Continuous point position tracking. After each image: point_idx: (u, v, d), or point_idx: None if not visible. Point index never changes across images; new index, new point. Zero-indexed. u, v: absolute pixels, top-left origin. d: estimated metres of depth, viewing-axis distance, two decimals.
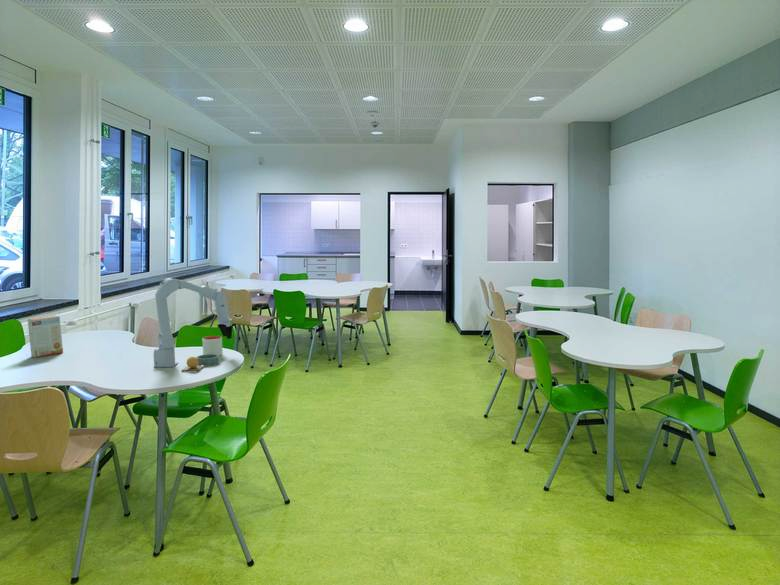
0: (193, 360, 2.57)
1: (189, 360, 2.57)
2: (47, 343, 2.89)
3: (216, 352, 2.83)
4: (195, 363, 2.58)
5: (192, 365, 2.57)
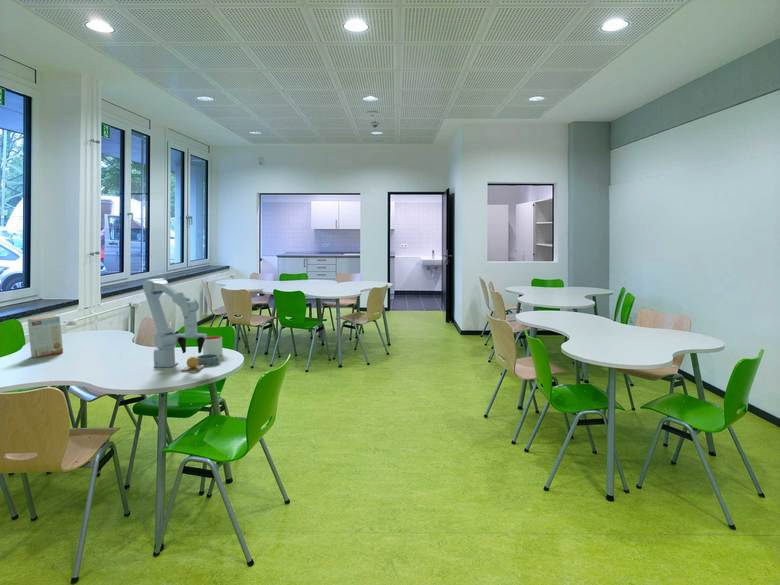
0: (193, 360, 2.57)
1: (189, 360, 2.57)
2: (47, 343, 2.89)
3: (216, 352, 2.83)
4: (195, 363, 2.58)
5: (192, 365, 2.57)
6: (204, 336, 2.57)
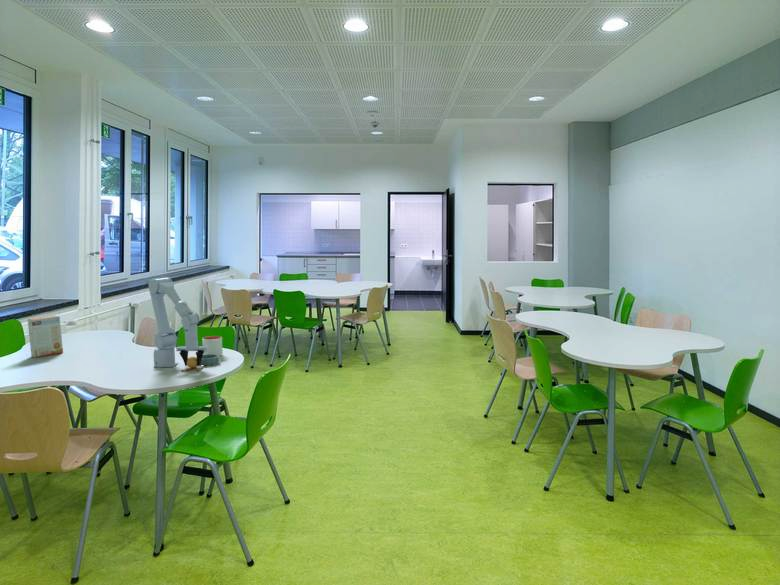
0: (193, 360, 2.57)
1: (189, 360, 2.57)
2: (47, 343, 2.89)
3: (216, 352, 2.83)
4: (195, 363, 2.58)
5: (192, 365, 2.57)
6: (205, 349, 2.57)
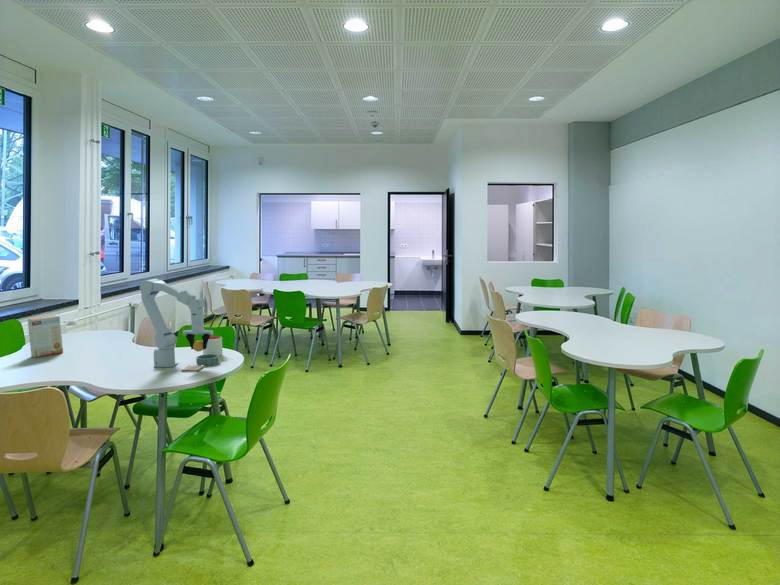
0: (199, 344, 2.61)
1: (195, 343, 2.61)
2: (47, 343, 2.89)
3: (216, 352, 2.83)
4: (201, 346, 2.62)
5: (198, 348, 2.61)
6: (210, 333, 2.62)
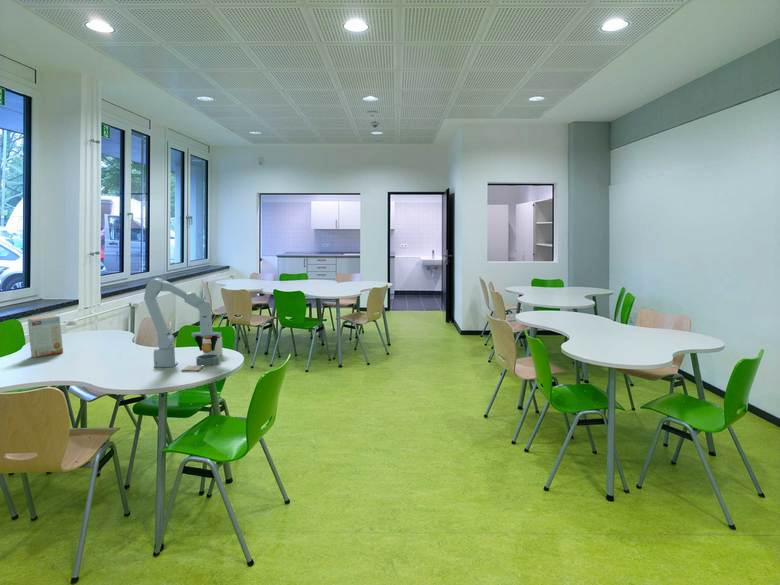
0: (207, 345, 2.68)
1: (204, 345, 2.68)
2: (47, 343, 2.89)
3: (216, 352, 2.83)
4: (209, 348, 2.69)
5: (207, 350, 2.68)
6: (219, 335, 2.69)
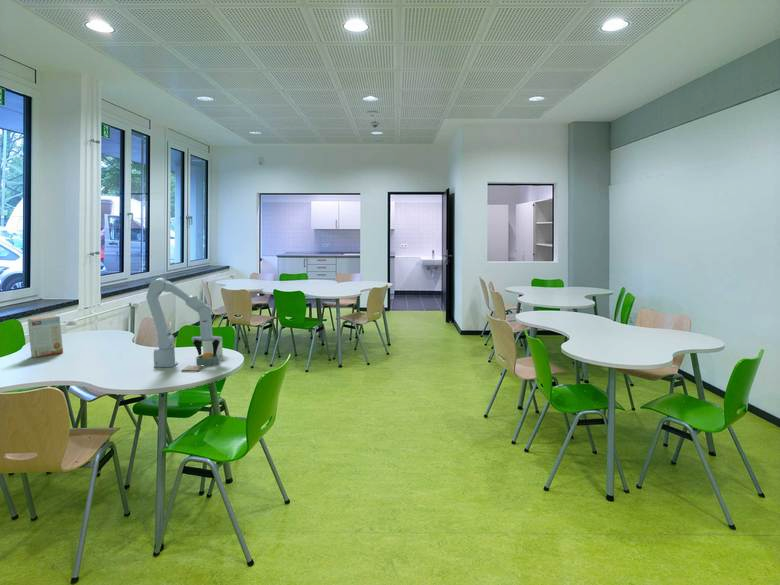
0: (207, 355, 2.69)
1: (204, 355, 2.69)
2: (47, 343, 2.89)
3: (216, 352, 2.83)
4: None
5: None
6: (219, 339, 2.69)
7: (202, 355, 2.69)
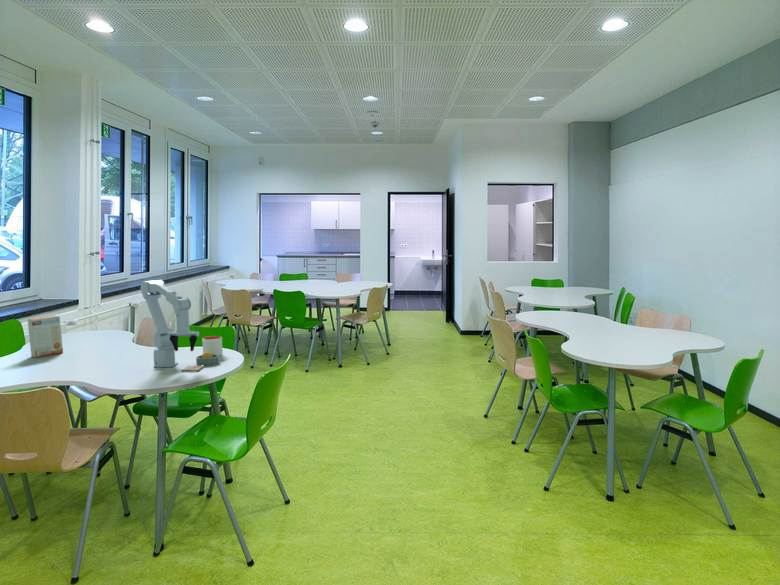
0: (207, 355, 2.69)
1: (204, 355, 2.69)
2: (47, 343, 2.89)
3: (216, 352, 2.83)
4: (210, 357, 2.69)
5: None
6: (196, 334, 2.56)
7: (202, 355, 2.70)
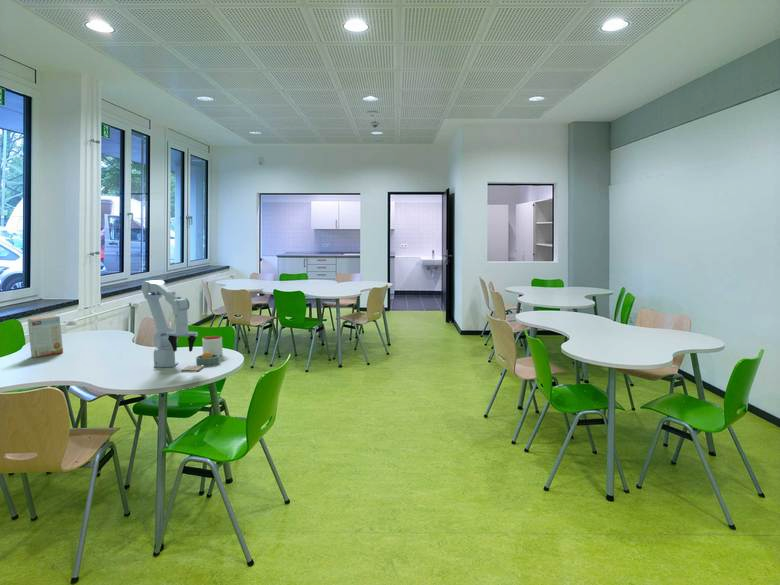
0: (207, 355, 2.69)
1: (203, 355, 2.69)
2: (47, 343, 2.89)
3: (216, 352, 2.83)
4: (209, 357, 2.69)
5: None
6: (195, 334, 2.56)
7: (202, 355, 2.70)
